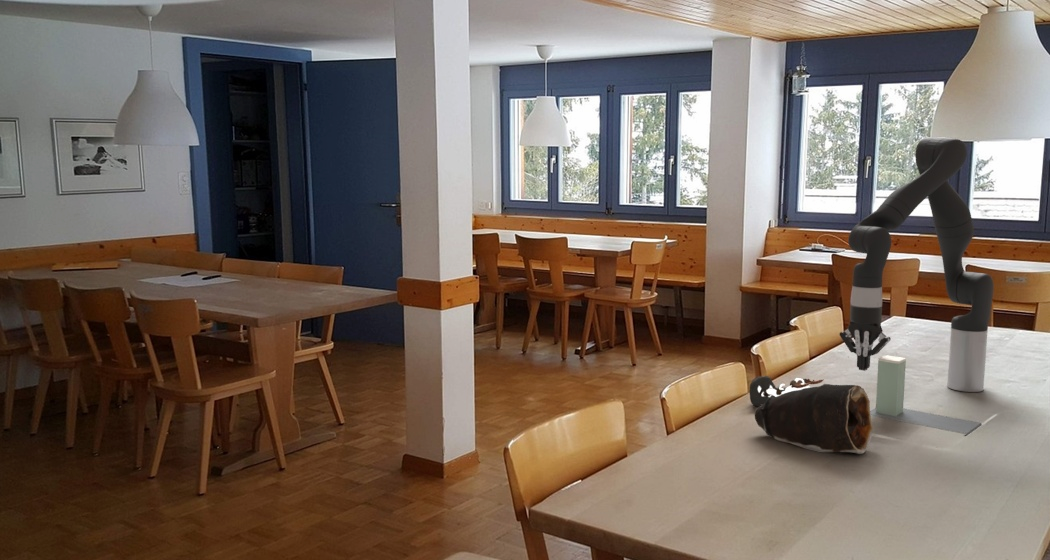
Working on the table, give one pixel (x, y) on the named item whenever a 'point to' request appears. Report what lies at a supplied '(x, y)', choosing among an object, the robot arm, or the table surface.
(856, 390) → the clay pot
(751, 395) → the figurine
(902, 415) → the slate mat
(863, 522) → the table surface
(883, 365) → the sage block
